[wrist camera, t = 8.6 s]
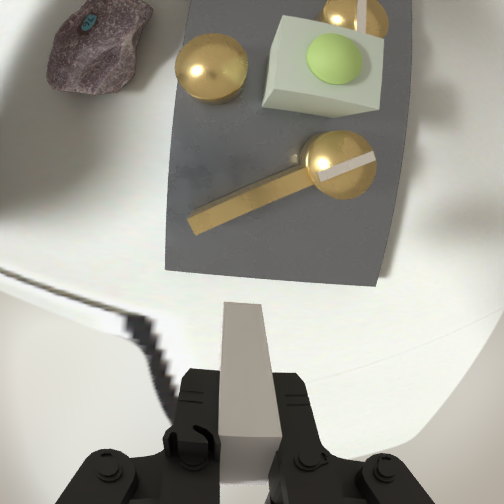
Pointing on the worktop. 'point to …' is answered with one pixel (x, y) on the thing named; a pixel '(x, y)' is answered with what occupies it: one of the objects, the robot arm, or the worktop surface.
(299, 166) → the knob
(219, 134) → the grey knob board
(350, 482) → the robot arm
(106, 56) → the rock
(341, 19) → the knob
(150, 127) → the worktop surface
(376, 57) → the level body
